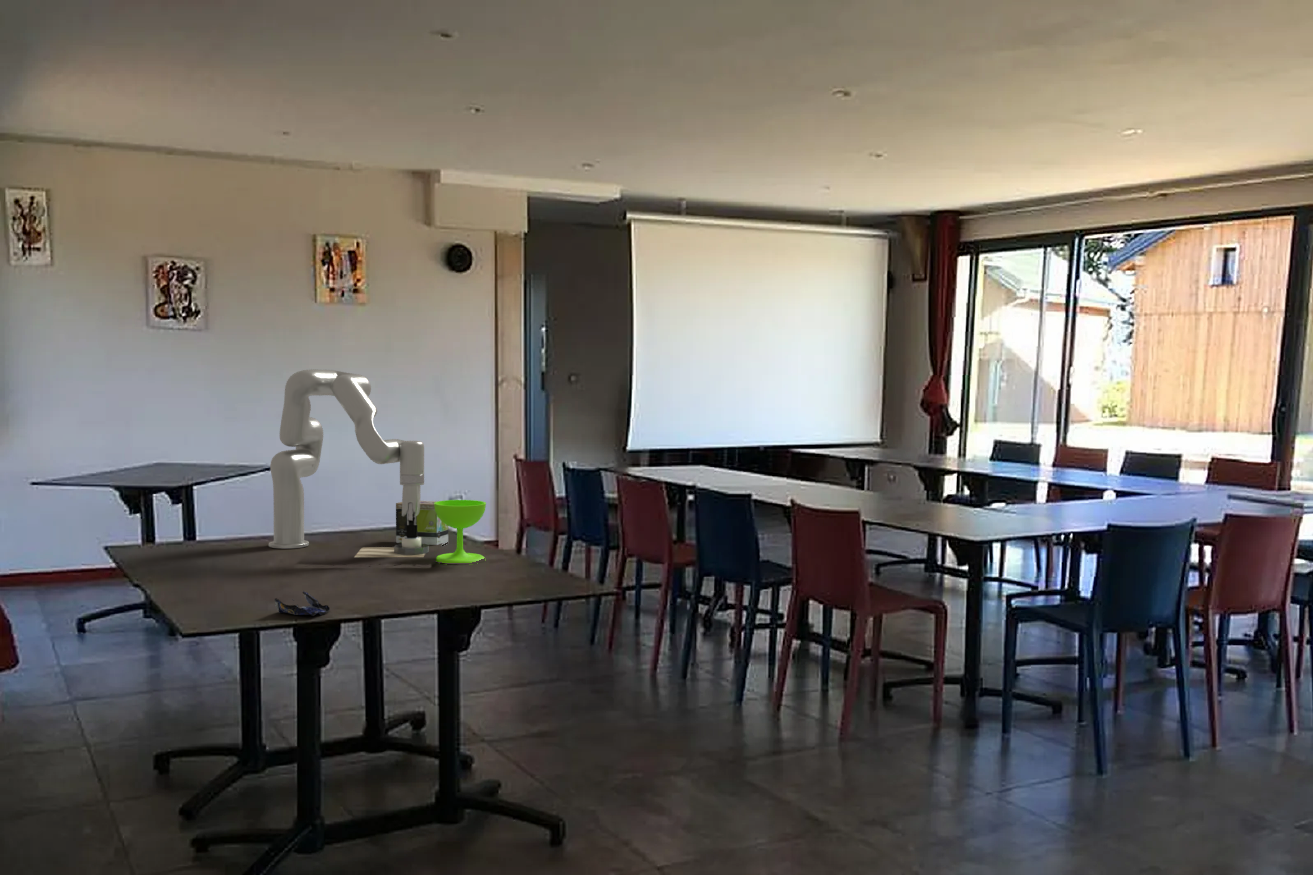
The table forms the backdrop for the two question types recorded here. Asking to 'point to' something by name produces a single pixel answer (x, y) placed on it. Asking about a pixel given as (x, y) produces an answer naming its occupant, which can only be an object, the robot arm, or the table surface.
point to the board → (381, 552)
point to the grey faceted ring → (411, 550)
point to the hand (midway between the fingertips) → (412, 537)
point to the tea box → (423, 525)
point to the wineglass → (459, 525)
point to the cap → (411, 542)
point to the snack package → (304, 610)
